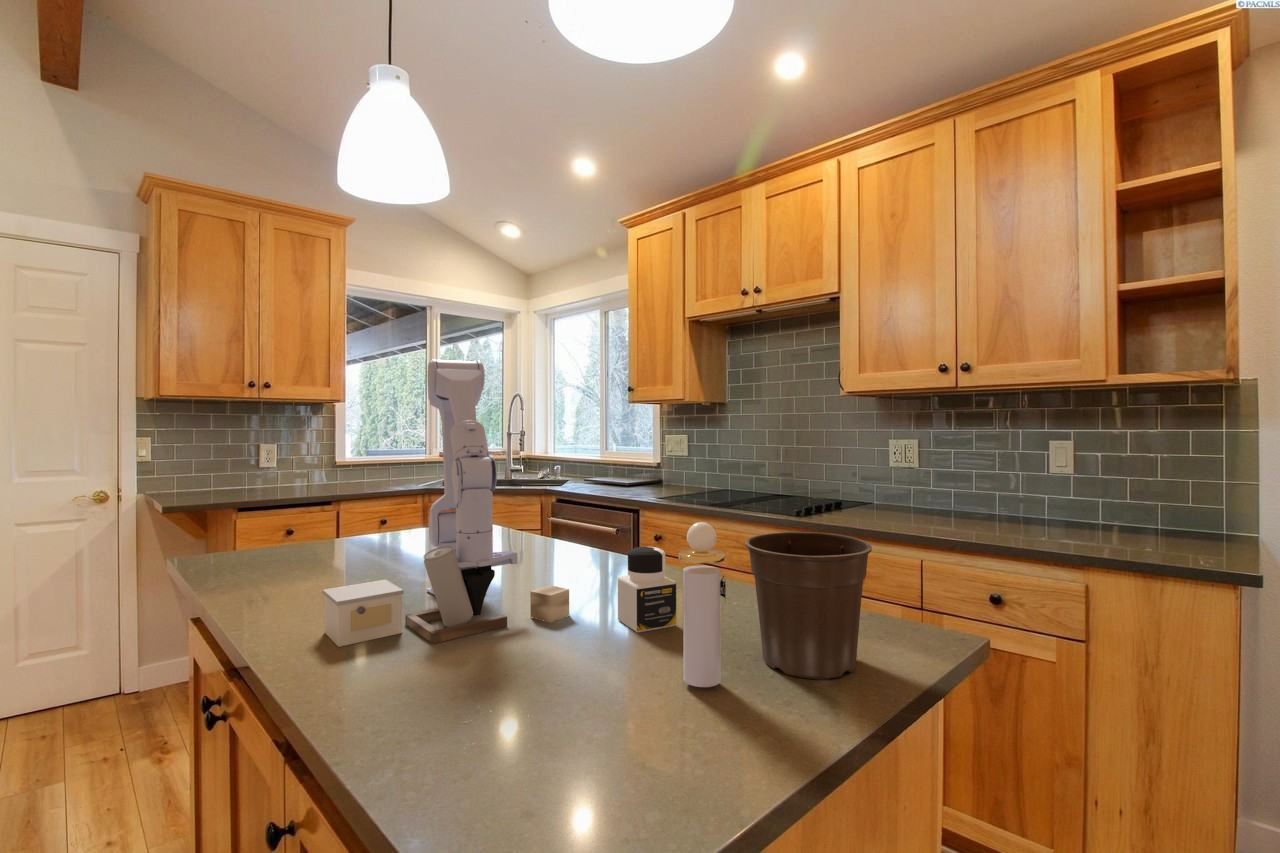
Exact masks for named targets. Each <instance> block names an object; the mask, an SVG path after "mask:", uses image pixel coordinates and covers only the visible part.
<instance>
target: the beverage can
mask: <svg viewBox="0 0 1280 853" xmlns="http://www.w3.org/2000/svg"><path fill="white" fill-rule="evenodd" d="M423 563H424V567H425V570H426V574H427V576H428V579H429V582H430V584H431V587H432V588H433V591H434V594H435V595H434V594H433V595H434V596H435V600H436V603H437V607H438V608H439V610H440V614H441V617H442V619H441V620H442V622H443V625H444V626H445V627H446V628H448V627H452V626H456V625H461V624H465V623H469V621H471V620H472V618H473V616H474V615H473V610H472V607H471V603H470V600H469V596H468V593H467V590H466V586H465V583H464V580H463V576H462V573H461V570H460V568H459V567H458V559H457V556H456V553H455V550H453V547H452V546H442V547H438V548H437V547H435V548H433V549H430V550H429V551H427V552H426V553H425V554H424V555H423Z"/></svg>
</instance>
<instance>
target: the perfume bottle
mask: <svg viewBox="0 0 1280 853" xmlns="http://www.w3.org/2000/svg"><path fill="white" fill-rule="evenodd" d="M686 541H687V544H688V546H689V547H690V548H689V549H684V550H679V551H678V553H677V559H678V560H679V561H682V562H684V563H689V564H691V563H692V564H716V563H722V562H725V560H726V552H724V551H722V550H718V549H713V548H714V547H715V545H716V543H717V533H716V529H715V528H714V527H713V526H712V525H711V524H709V523H708V522H704V521H698V522H695V523H693V524H692V525H691V526H690V527H689V529H688V530H687V533H686ZM725 580H726V578H725V574H724V575H723V576H722V578H721V569H720V568H719V567H715V566H712V565H711V566H710V565H691V566H686V567H684V568H683V569H682V584H683V585H682V586H683V587H682V593H683V594H682V598H683V599H682V600H683V601H682V608H683V609H682V615H683V617H682V625H683V626H682V630H683V631H682V632H683V633H682V634H683V637H682V638H683V640H682V642H683V645H682V646H683V647H682V648H683V654H682V656H683V660H682V661H683V666H682V668H683V672H682V673H683V682H685V684H688V685H690V686H692V687H698V688H711V687H714V686H718V685H719V684H720V683H721V682H722V677H721V676H722V673H721V671H722V669H721V667H722V665H721V660H722V659H721V657H722V656H721V655H722V654H721V653H722V652H721V650H722V649H721V645H722V644H721V641H722V640H721V636H722V635H721V632H722V631H721V629H722V628H721V624H722V623H721V618H722V617H721V615H722V614H721V612H722V611H721V606H722V605H721V597H723V598H724V602H725V604H724V605H725V608H726V597H727V596H726V585H727V584H726V581H725Z"/></svg>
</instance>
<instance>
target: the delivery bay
mask: <svg viewBox="0 0 1280 853" xmlns="http://www.w3.org/2000/svg"><path fill="white" fill-rule="evenodd" d="M404 616H405V617H404V618H405V620H404V621H405V622H404V623H405V625H406V626H407V627H408V626H409V627H408V628H410V629H411V630H412V631H414V632H415V631H416V633H417V634H419V636H421V637H422V636H423V637H422V638H424V639H425V640H427V642H429V641H430V642H429V643H431V644H432V643H433V645H434V643H435V644H438V642H439V643H442V641H443V642H446V640H447V641H451V640H455V639H459V637H460V638H463V637H468V636H472V635H476V634H479V633H480V632H481V633H484V631H485V632H488V631H493V630H497V629H500V627H501V628H504V627H503V626H506V627H508V616H506V615H505V614H501V615H497V616H493V617H488V618H484V619H483V618H482V619H479V620H475V621H471V622H467V623H465V624H461V625H456V626H452V627H444V628H439V629H437V628H436V627H434V626H432V625H431V624H430V622H434V621H438V619H439V620H442V617H441V614H440V610H439V607H438V608H433V609H428V610H424V611H418V612H414V613H409V614H408V613H407V614H405V615H404ZM429 621H430V622H429ZM496 628H497V629H496ZM492 629H493V630H492ZM454 638H455V639H454Z"/></svg>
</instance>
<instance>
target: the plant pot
mask: <svg viewBox="0 0 1280 853" xmlns="http://www.w3.org/2000/svg"><path fill="white" fill-rule="evenodd" d="M744 543H745V547H746V549H748V553H749V559H750V570H751V573H752V574H753V576H754V585H755V586H754V587H755V593H756V594H755V595H756V601H757V609H758V610H757V611H758V620H759V630H760V631H759V632H760V640H761V652H762V659H763V661H764V663H765V664H766V665H767V666H768V667H769V668H771V669H774V670H775V669H780V670H781V671H782V672H783V673H784V674H785V675H788V676H792V677H798V678H803V679H810V680H815V679H816V680H824V679H825V680H826V679H834V678H841V677H842V676H843V675H844V674H845V673H846V672H847V673H852V672H853V671H854V670H855V669H856V667H857V658H858V644H859V643H858V641H859V632H860V630H859V629H860V618H861V617H860V616H861V607H862V606H861V605H862V595H863V589H864V588H863V585H864V580H865V579H866V577H867V569H868V559H869V554H870V553H871V552H872V549H873V546H872V545H871V543H869V542H868V541H865V540H863V539H860V538H857V537H853V536H849V535H844V534H837V533H829V532H813V531H812V532H811V531H808V532H807V531H804V532H803V531H781V532H780V531H779V532H771V533H770V532H769V533H763V534H762V533H761V534H757V535H754V536H753V535H752V536H751V537H749V538H747V539H746V540H745V542H744Z"/></svg>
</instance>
